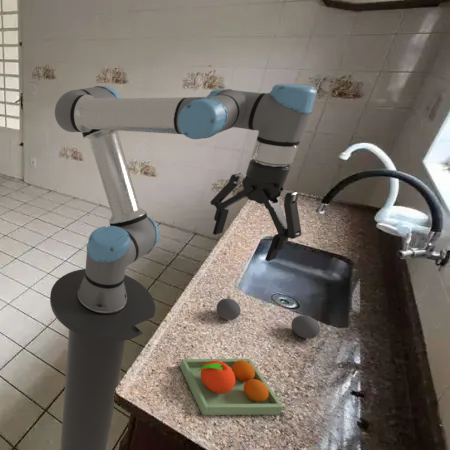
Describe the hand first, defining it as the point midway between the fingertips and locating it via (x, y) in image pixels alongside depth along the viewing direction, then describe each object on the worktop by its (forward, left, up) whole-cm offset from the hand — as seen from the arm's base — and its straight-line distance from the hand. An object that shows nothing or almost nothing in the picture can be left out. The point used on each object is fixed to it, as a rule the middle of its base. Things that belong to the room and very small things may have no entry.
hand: (242, 245), depth 85 cm
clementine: (+13, -18, -26) cm, 34 cm away
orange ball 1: (+14, -10, -24) cm, 29 cm away
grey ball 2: (+13, +18, -24) cm, 32 cm away
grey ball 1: (-1, +6, -24) cm, 24 cm away
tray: (+14, -15, -27) cm, 34 cm away
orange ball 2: (+19, -12, -24) cm, 33 cm away
